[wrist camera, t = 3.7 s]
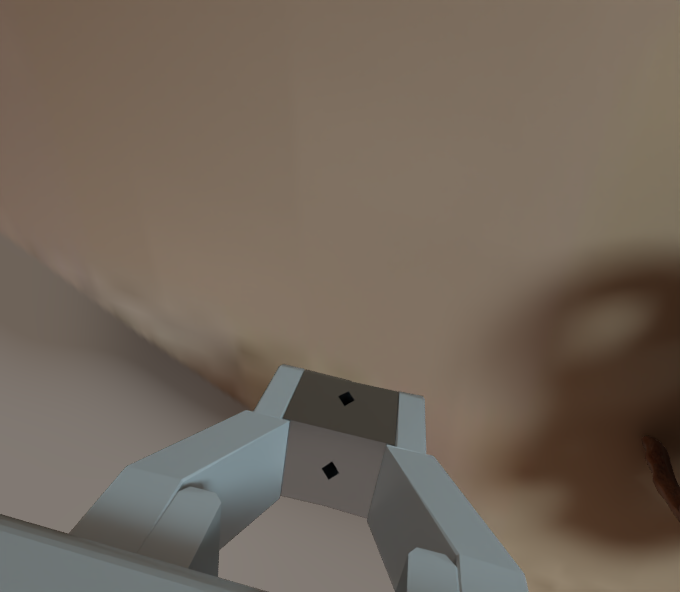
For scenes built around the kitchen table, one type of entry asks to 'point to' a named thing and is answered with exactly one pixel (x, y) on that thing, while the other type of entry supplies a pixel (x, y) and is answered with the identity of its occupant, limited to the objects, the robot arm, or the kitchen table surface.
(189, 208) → the kitchen table surface
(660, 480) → the pottery mug
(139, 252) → the kitchen table surface
